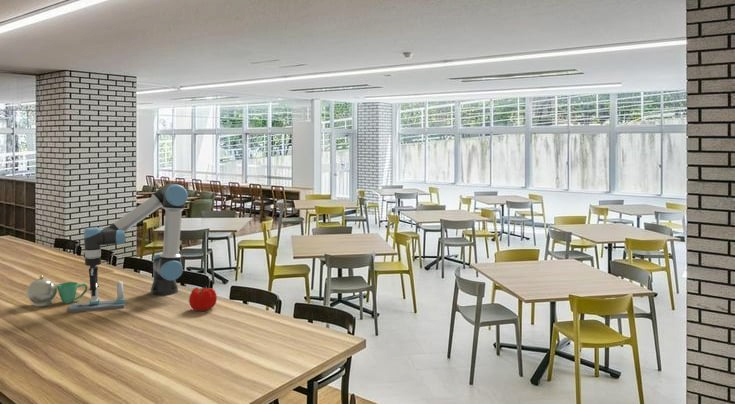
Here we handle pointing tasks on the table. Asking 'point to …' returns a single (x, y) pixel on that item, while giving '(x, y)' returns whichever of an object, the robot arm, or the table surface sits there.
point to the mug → (70, 291)
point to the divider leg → (97, 299)
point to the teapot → (42, 292)
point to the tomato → (202, 299)
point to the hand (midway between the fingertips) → (94, 300)
